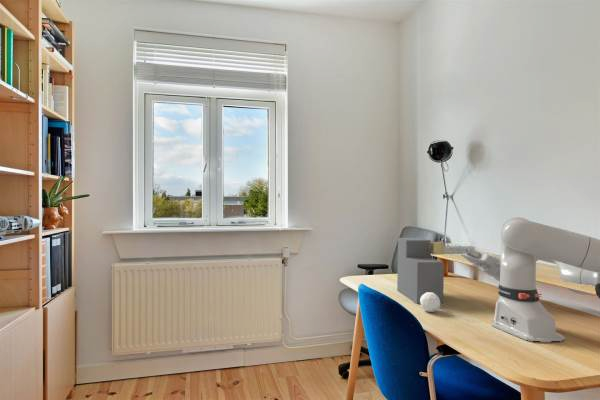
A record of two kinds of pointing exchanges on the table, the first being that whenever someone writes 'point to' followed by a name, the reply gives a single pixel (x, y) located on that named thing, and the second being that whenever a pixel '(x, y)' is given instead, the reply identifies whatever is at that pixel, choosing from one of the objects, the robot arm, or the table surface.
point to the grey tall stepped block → (418, 270)
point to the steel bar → (447, 249)
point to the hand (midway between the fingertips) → (464, 248)
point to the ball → (430, 302)
